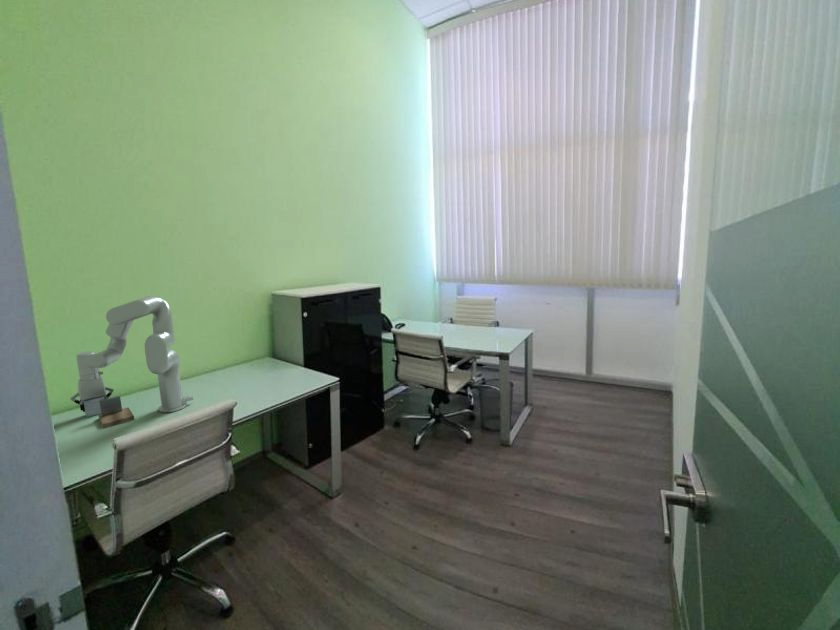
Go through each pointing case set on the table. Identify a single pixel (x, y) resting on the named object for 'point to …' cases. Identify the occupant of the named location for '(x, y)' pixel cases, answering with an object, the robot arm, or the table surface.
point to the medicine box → (92, 406)
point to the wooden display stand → (113, 412)
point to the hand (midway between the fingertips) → (94, 408)
